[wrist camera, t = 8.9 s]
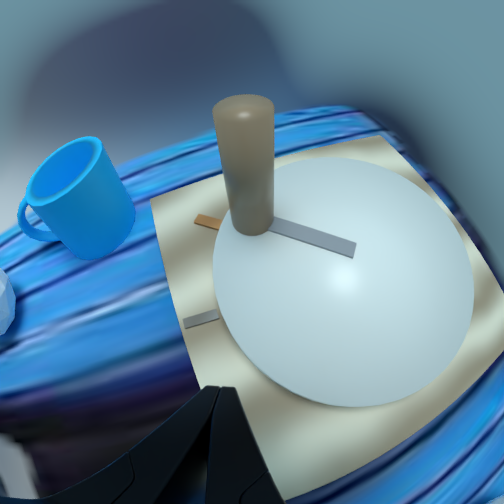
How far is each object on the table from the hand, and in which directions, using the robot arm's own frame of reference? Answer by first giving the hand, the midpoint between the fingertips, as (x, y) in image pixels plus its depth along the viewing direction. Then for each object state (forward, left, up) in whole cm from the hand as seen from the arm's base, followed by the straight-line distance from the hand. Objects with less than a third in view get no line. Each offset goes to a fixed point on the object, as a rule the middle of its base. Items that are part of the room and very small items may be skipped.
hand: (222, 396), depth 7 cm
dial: (+6, -11, -9) cm, 15 cm away
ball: (+14, +22, -11) cm, 28 cm away
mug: (+20, +10, -11) cm, 25 cm away
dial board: (+6, -11, -11) cm, 16 cm away
